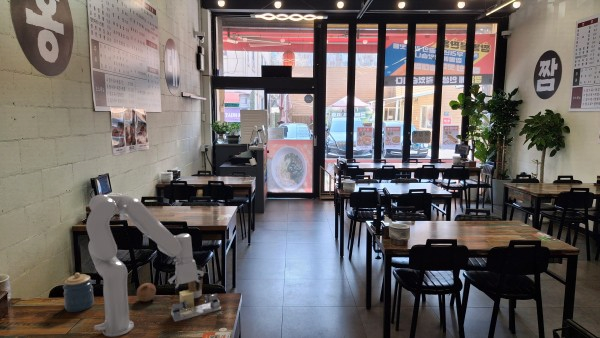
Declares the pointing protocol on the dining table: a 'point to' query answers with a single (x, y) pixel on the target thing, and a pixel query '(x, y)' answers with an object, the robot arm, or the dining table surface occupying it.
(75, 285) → the canister
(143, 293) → the onion
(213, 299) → the shaft bench
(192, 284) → the coffee cup
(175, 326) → the dining table surface
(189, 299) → the tan wooden cube
